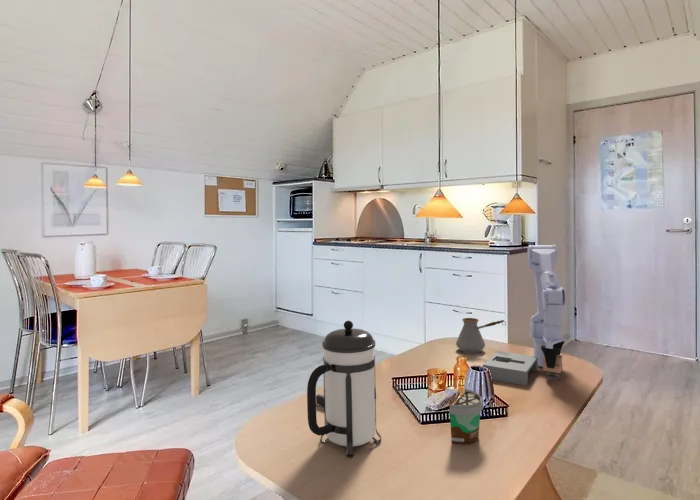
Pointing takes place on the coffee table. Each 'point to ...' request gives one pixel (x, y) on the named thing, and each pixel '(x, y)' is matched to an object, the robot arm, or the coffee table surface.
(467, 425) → the food container
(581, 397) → the coffee table surface
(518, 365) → the keyhole plate
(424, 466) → the coffee table surface
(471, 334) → the coffee pot
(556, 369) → the peg
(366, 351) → the coffee press
